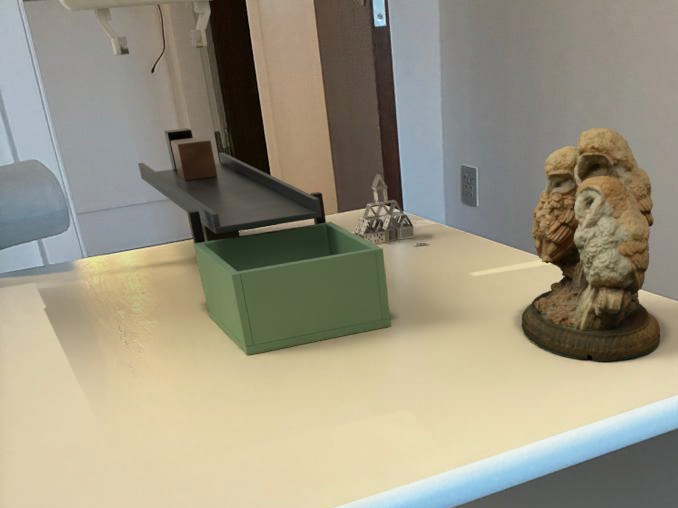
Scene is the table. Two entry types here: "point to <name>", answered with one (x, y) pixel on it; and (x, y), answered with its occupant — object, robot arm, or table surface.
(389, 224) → the house of cards
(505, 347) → the table surface
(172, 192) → the grey slide chute
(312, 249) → the green storage bin
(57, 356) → the table surface
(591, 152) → the owl figurine
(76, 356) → the table surface
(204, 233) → the stand
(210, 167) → the block
